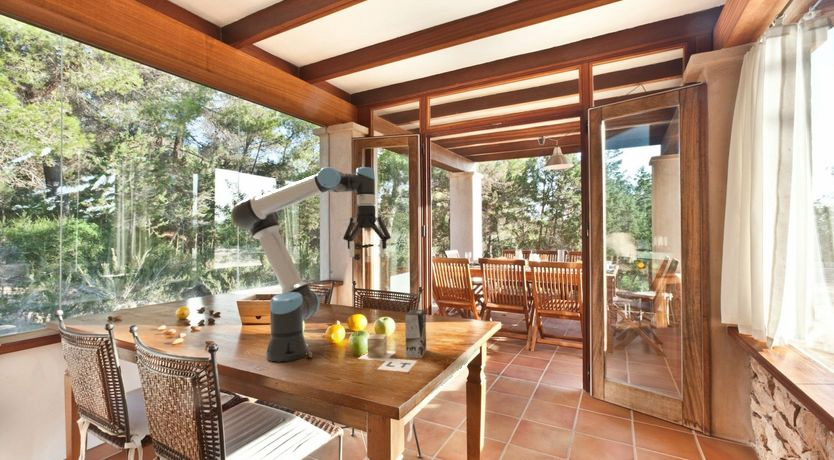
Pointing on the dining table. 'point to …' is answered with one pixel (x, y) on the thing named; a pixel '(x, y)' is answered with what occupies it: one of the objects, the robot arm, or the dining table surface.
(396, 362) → the tile
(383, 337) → the oak block
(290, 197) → the robot arm
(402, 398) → the dining table surface
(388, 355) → the code tile
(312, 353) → the dining table surface
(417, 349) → the coffee box
